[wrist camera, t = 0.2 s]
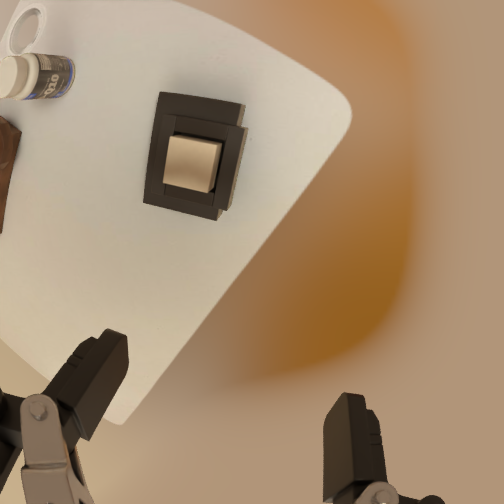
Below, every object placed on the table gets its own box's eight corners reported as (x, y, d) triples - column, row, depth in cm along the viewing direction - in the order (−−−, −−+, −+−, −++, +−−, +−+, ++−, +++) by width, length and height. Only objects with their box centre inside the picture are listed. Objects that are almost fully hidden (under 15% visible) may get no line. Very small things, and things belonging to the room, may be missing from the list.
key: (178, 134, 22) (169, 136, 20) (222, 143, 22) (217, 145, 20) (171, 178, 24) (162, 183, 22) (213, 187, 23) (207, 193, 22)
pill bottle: (55, 106, 25) (-1, 113, 18) (41, 78, 24) (-14, 80, 16) (82, 76, 24) (25, 74, 16) (66, 48, 22) (10, 42, 15)
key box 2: (169, 92, 24) (150, 90, 20) (256, 107, 24) (250, 105, 20) (152, 196, 28) (133, 208, 25) (232, 215, 28) (222, 231, 24)
